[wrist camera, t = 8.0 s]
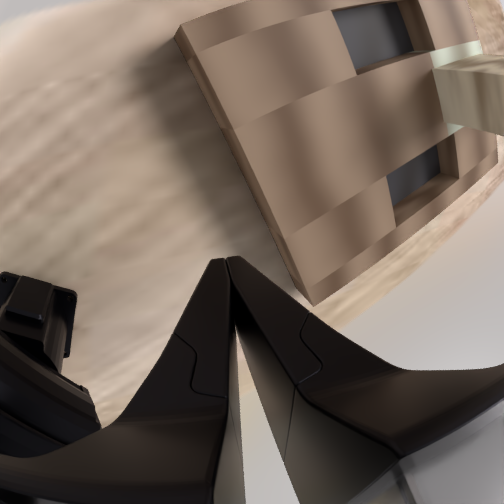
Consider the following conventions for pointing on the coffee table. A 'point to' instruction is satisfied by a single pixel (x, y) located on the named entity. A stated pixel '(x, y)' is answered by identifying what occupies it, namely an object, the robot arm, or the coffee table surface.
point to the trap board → (339, 122)
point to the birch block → (473, 92)
